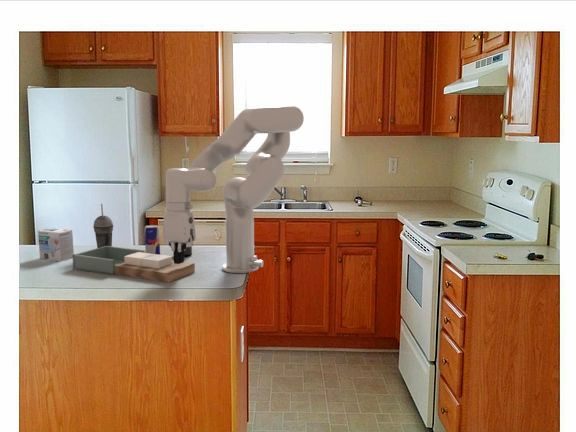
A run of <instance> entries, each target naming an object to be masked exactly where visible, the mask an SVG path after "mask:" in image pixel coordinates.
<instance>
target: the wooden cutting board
mask: <svg viewBox="0 0 576 432" xmlns="http://www.w3.org/2000/svg"><path fill="white" fill-rule="evenodd" d="M172 263H173V264H170V265H167V266H164V267H162V268H153V267H146V266H139V265H131V264H125V263H122V264H118V265H115V275H116V276H117V275H118V276H123V277H131V278H137V279H144V280H149V281H157V282H163V283H171V282H174V281H176V280H178V279H181V278H183V277H186V276H188V275H191V274H193V273H195V272H196V266H195V263H194V262H188V261H184V262H183V263H180V264H177V263H176V264H174V259H172Z"/></svg>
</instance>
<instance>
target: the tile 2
mask: <svg viewBox="0 0 576 432" xmlns="http://www.w3.org/2000/svg"><path fill="white" fill-rule="evenodd" d="M172 260H173V256H172V255H165V254H160V255H158V254H155V255H152V256H149V257H145V258H142V266H146V267H153V268H162V267H164V266H167V265H170V264H173V263H172Z"/></svg>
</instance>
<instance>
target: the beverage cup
mask: <svg viewBox="0 0 576 432" xmlns="http://www.w3.org/2000/svg"><path fill="white" fill-rule="evenodd" d="M100 207H101V208H100V210H101V215H100V216H98V217H96V218H95V220H94V222H93V226H92V228H93V231H94V234H95V240H96V248H100V247H104V246H113V231H114V224H113V223H114V222H113V220H112V219H111V218H110V217H109V216H107V215H104V210H103V203H101V204H100Z"/></svg>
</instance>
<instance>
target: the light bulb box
mask: <svg viewBox="0 0 576 432" xmlns="http://www.w3.org/2000/svg"><path fill="white" fill-rule="evenodd" d="M37 233H38V234H37V236H38V249H39V259H41V258H44V259H43V260H48V259H50V260H49V261H55V260H56V261H57V262H63V261H67V260H70V259H73V256H72V255H74V254H75V253H74V240H73V239H74V237H73V234H74V233H73V229H68V228H59V227H58V228H57V227H49V228H45V229H40V230H38V231H37Z"/></svg>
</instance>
